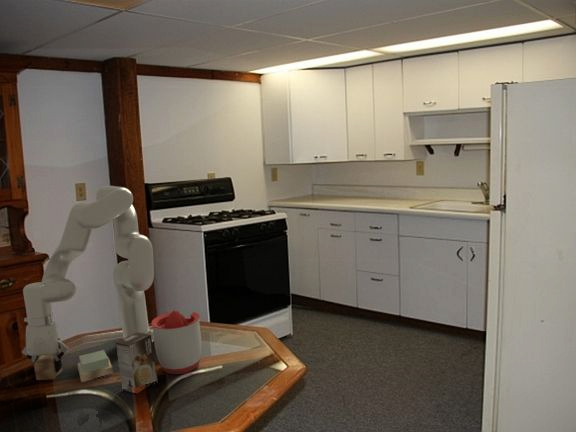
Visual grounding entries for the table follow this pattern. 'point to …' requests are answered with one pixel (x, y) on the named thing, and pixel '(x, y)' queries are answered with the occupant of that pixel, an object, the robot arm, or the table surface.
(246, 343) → the table surface
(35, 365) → the walnut cube
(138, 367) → the coffee box
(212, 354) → the table surface
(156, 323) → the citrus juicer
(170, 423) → the table surface
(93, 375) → the birch base block
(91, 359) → the sage top block
